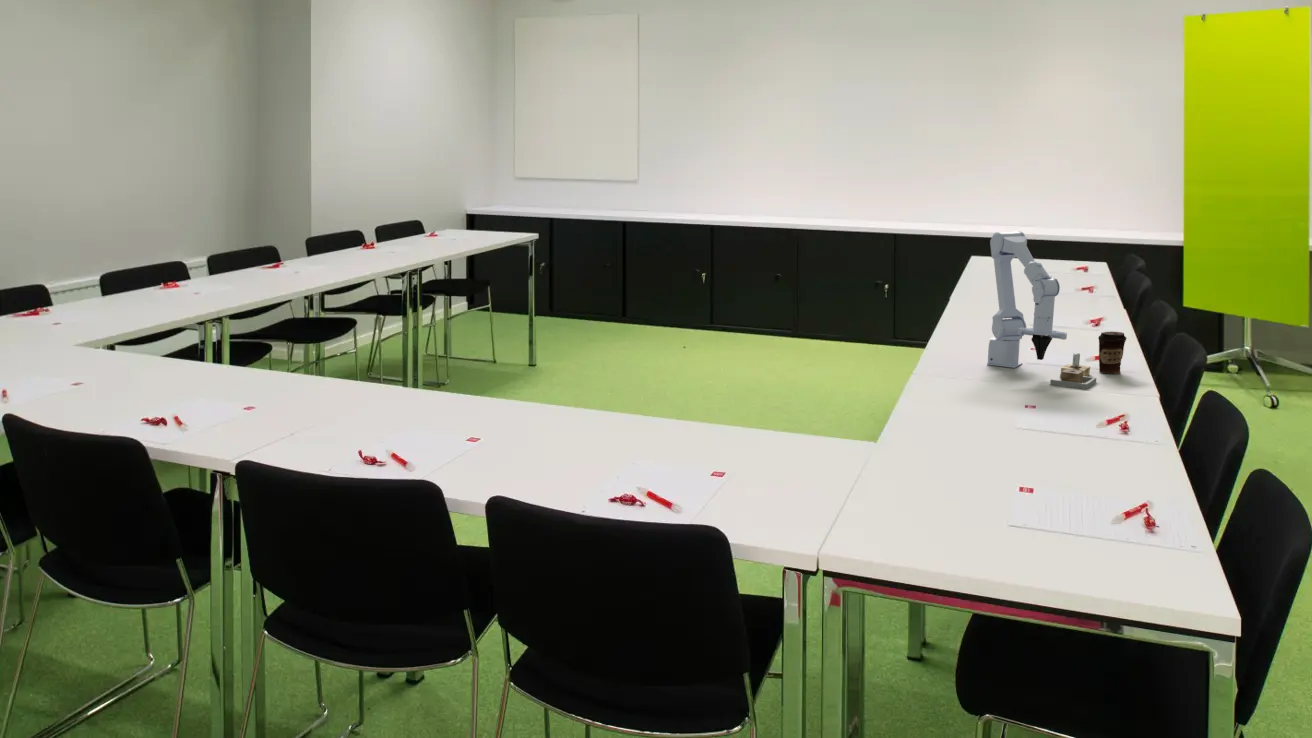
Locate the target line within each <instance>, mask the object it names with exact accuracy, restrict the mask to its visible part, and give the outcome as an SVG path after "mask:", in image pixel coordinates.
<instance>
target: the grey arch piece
mask: <svg viewBox="0 0 1312 738" xmlns="http://www.w3.org/2000/svg"><path fill="white" fill-rule="evenodd" d="M1059 379H1060V380H1059ZM1059 379H1050V383H1049V385H1051V386H1057V387H1058V386H1061V387H1066V388H1074V389H1075V388H1076V389H1081V388H1082V390H1088V389H1089V388H1090V387H1092V386H1093V385H1095V384H1096V383H1097V379H1098V378H1097V377H1093V376H1083V380H1082V383H1077V382H1069V381H1061V373H1060V374H1059ZM1084 381H1085V382H1084ZM1083 382H1084V383H1083Z"/></svg>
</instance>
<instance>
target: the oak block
mask: <svg viewBox="0 0 1312 738" xmlns="http://www.w3.org/2000/svg"><path fill="white" fill-rule="evenodd" d="M1072 364H1073V363H1072ZM1072 364H1071V363H1067V364H1065V365H1063V366H1061V368H1060V373H1061V372H1062V371H1064V370H1066V369H1072V370H1080V371H1083V376H1086V377H1089V374H1091V372H1090V371H1091V366H1088V365H1081V364H1079V369H1077V368H1072Z"/></svg>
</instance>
